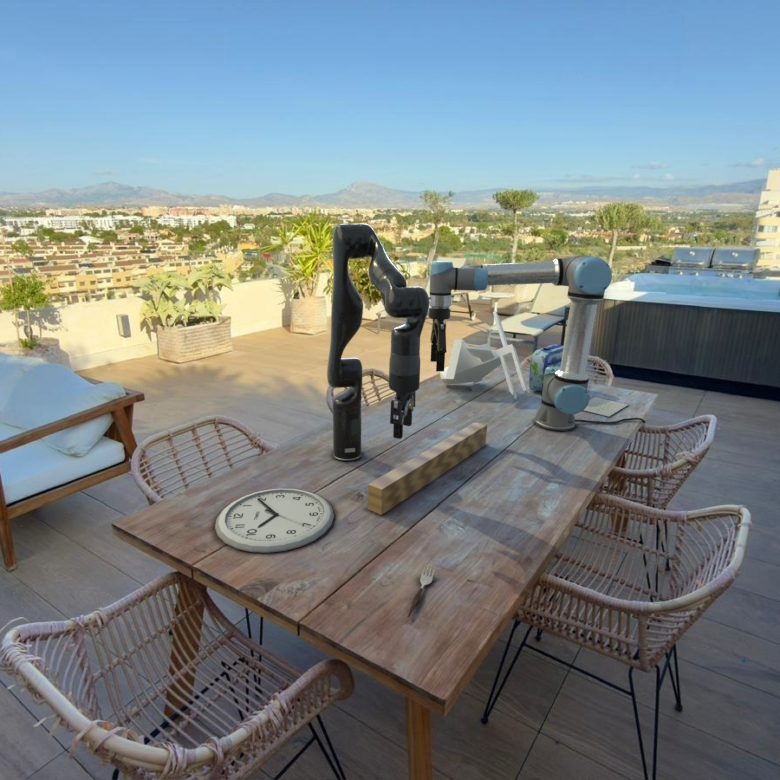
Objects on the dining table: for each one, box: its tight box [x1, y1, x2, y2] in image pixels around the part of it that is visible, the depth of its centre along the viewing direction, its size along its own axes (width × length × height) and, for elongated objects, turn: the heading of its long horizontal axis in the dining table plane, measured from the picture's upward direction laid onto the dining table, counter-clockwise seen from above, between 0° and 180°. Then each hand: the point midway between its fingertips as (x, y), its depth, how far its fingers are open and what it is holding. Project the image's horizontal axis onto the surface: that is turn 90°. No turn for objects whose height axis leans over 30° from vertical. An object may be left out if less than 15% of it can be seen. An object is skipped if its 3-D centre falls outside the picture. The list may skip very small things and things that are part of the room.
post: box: [367, 421, 488, 516], centre depth 162 cm, size 60×5×8 cm, turn 143°
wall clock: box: [214, 488, 335, 554], centre depth 135 cm, size 30×2×30 cm
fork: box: [407, 563, 436, 618], centre depth 108 cm, size 3×16×2 cm, turn 160°
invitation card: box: [583, 396, 629, 418], centre depth 226 cm, size 21×1×15 cm
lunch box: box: [528, 344, 564, 393], centre depth 247 cm, size 26×11×21 cm, turn 134°
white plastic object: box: [438, 310, 531, 400], centre depth 245 cm, size 37×45×31 cm
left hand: (402, 431), depth 132 cm, fingers open, 8 cm apart
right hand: (437, 366), depth 188 cm, fingers open, 13 cm apart
